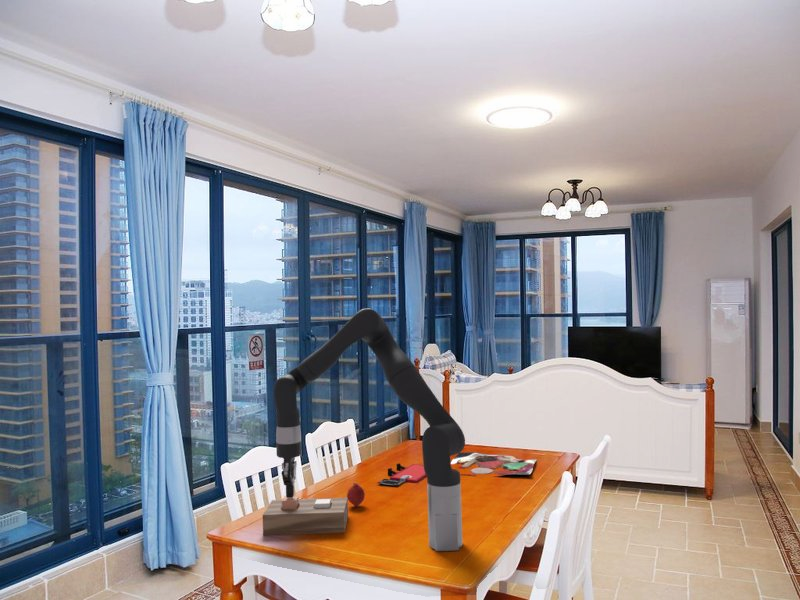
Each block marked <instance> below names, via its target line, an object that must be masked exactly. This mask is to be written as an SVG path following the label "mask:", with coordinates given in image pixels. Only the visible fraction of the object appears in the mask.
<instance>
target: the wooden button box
mask: <svg viewBox="0 0 800 600" xmlns="http://www.w3.org/2000/svg"><path fill="white" fill-rule="evenodd" d="M317 499H318V498H302V499H301V498H299V507H298V509H282V499H272V500H271V501H270V503H269V504H268V506H267V507H266V509H265V510H264V512H263V514H262V535H263V536H282V535H285V536H287V535H309V534H311V535H313V534H316V535H317V534H341V533H343V534H344V533H345V531H346V527H347V523H348V518H349V500H348V498H347V497H334V498H333V497H330V498H329V497H327V498H322V499H331V508H315V502H316V500H317Z"/></svg>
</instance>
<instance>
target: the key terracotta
mask: <svg viewBox="0 0 800 600" xmlns="http://www.w3.org/2000/svg"><path fill="white" fill-rule="evenodd" d="M299 499H300V498H299V495H294V496H293V497H292V498H287V497H286V495H283V498H282V499H281V500H282V509H298V507H299Z"/></svg>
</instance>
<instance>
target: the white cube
mask: <svg viewBox="0 0 800 600" xmlns="http://www.w3.org/2000/svg"><path fill="white" fill-rule="evenodd" d="M316 499H317V500H316V502H315V508H331V499H323V498H316Z"/></svg>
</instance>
